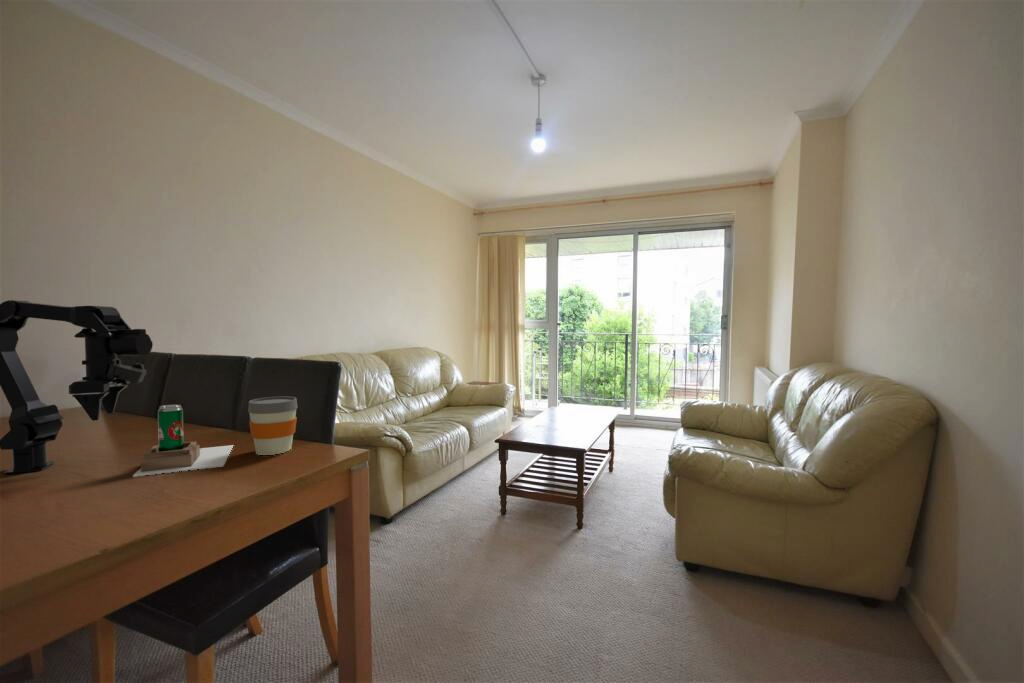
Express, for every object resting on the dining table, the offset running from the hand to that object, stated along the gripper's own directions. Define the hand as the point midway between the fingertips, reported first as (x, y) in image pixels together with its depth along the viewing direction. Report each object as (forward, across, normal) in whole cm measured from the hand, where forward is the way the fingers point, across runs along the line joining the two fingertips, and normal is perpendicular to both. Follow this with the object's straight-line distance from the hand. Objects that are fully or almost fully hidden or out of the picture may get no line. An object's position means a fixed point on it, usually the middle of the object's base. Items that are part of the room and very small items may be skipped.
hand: (103, 416), depth 108 cm
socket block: (+13, -6, -15) cm, 21 cm away
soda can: (+10, -5, -15) cm, 19 cm away
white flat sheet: (+13, -2, -18) cm, 22 cm away
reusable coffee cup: (+13, -3, -38) cm, 40 cm away
